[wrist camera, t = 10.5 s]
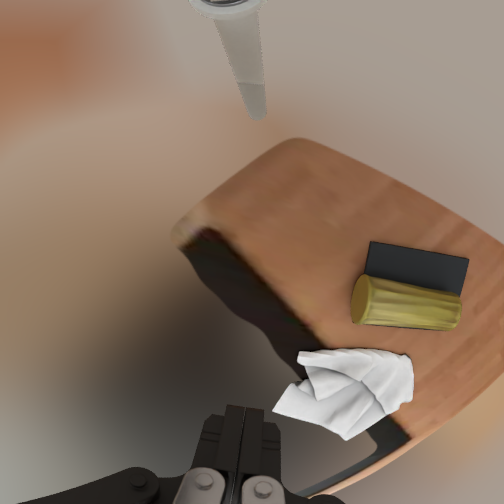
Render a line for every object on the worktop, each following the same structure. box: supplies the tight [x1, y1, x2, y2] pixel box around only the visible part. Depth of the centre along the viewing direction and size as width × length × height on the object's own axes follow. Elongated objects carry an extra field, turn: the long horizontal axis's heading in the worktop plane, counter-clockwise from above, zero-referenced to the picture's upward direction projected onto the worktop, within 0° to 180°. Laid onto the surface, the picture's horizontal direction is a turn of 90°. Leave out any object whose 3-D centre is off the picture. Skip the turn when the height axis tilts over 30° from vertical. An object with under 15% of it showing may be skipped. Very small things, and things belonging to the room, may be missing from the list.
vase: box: [351, 274, 462, 331], centre depth 37 cm, size 6×6×14 cm
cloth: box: [272, 348, 414, 441], centre depth 42 cm, size 20×22×2 cm
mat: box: [353, 241, 469, 331], centre depth 39 cm, size 11×16×1 cm
